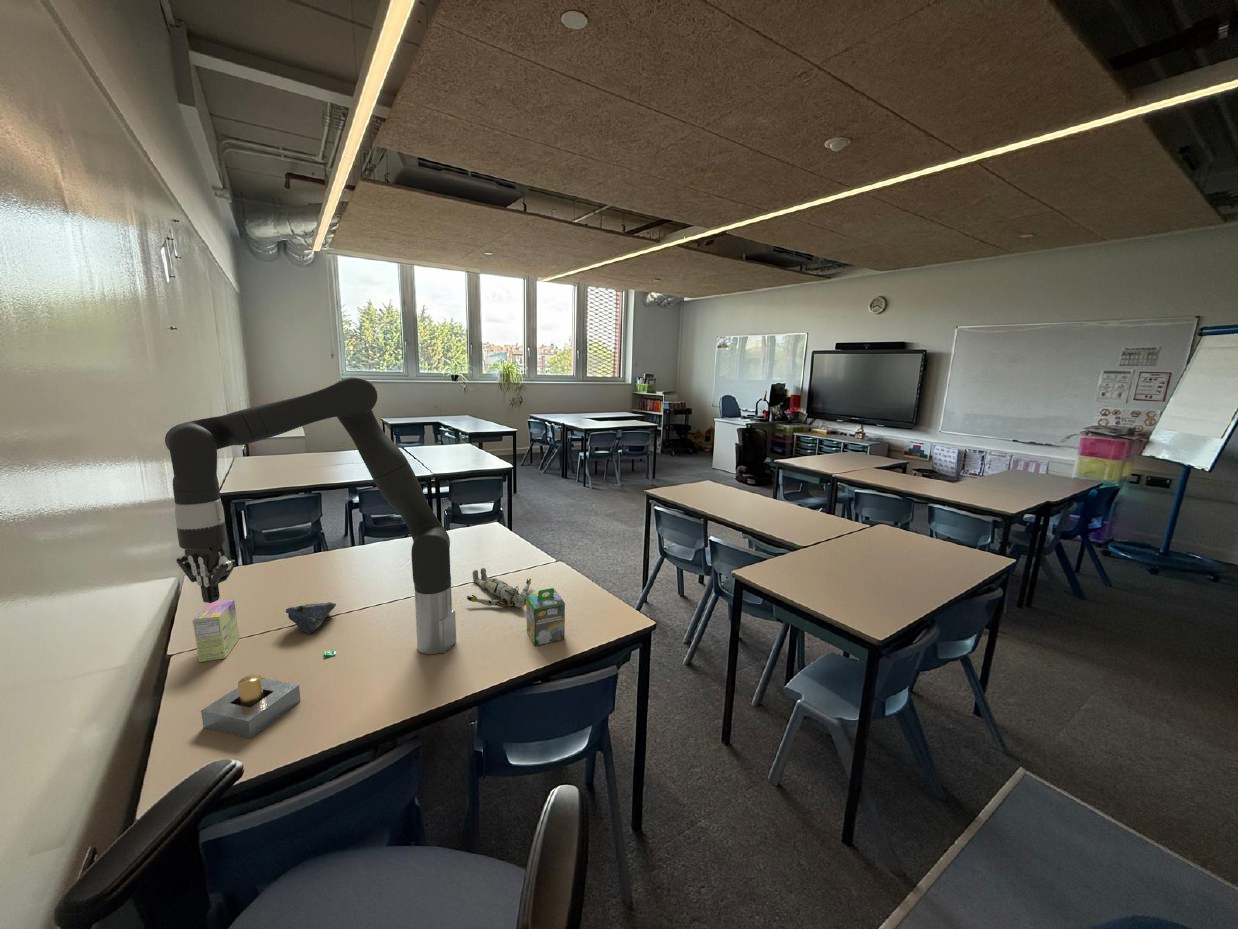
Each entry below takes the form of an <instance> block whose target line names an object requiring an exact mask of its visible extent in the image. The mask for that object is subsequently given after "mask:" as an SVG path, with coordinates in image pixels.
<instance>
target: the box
mask: <svg viewBox="0 0 1238 929" xmlns="http://www.w3.org/2000/svg"><path fill="white" fill-rule="evenodd" d="M192 626H193V632H194V637H195V643H196V644H195V645H196V650H197V657H198V663H203V662H211V661H217V660H223V659H226V658H227V656H229V654H230V653H231V651H232V650H233V648H234V647H235V645H236V644H237V643H238V642H239V640H240V637H241V636H240V631H239V630H240V629H239V623H238V617H237V608H236V602H235V599H234V598H233V599H223V600H217V601H215V602H212V603H207V605H206V606H204V608H202V610H201V611H200V612H199V613H198V614H197V615H196V616H195V617H194V618H193V619H192Z"/></svg>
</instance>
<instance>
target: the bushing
mask: <svg viewBox="0 0 1238 929" xmlns="http://www.w3.org/2000/svg"><path fill="white" fill-rule="evenodd" d="M261 677H262V675H260V674H251V675H247V676H245V677H243V678H241V679H240V680H238V682H237V688H238V689H239V696H240V703H241V706H244V707H249V708H251V707H252V706H254V705H255V704H257V703H258V702H260V701H261V700H262V699H264V695H263V687H262V680H261Z"/></svg>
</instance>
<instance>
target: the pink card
mask: <svg viewBox="0 0 1238 929" xmlns="http://www.w3.org/2000/svg"><path fill="white" fill-rule="evenodd" d="M336 653H337V650H336V649H334V650H332V649H325V650H324V651H323V659H326V658H332V657H336V655H337V654H336Z"/></svg>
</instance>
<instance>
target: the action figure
mask: <svg viewBox="0 0 1238 929" xmlns="http://www.w3.org/2000/svg"><path fill="white" fill-rule="evenodd" d="M480 575H481V576H480V577H479V570H478V569H474V570H473V571H472V579H473V580H472V581H473V583H475V584H478V585H479V586H480V587H481V588H482V589H483V590H486V589H487V590H489V591H490V592H491V593H494V594H496V596H498V597H500V599H491V600H490V599H486V598H478V597H477V596H476V595H474V594H471V596H470V595H467V596H466V600H468V601H470V602H472V603H478V604H481V605H485V606H489V607H491V606H492V607H493V606H498V607H499V608H501V607H502V608H503V607H504V608H505V607H516V608H521V607H523V606H524V604H525V601H526V596H528V595H527V594H528V592H529V588H530V585H531V584H532V582H531V581H532V579H531V578H529V579H528V578H526V582H525V583H526V585H525V586H524V588H523V589H522V592H520V593H519V589H518V588H519V586H518V585H517V586H515V587H513V586H510V585H508V583H506V582H505V581H504V580H501V579H499V578H497V577H494V578H491V577H488V575H487V568H485V567H482V568H480Z"/></svg>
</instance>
